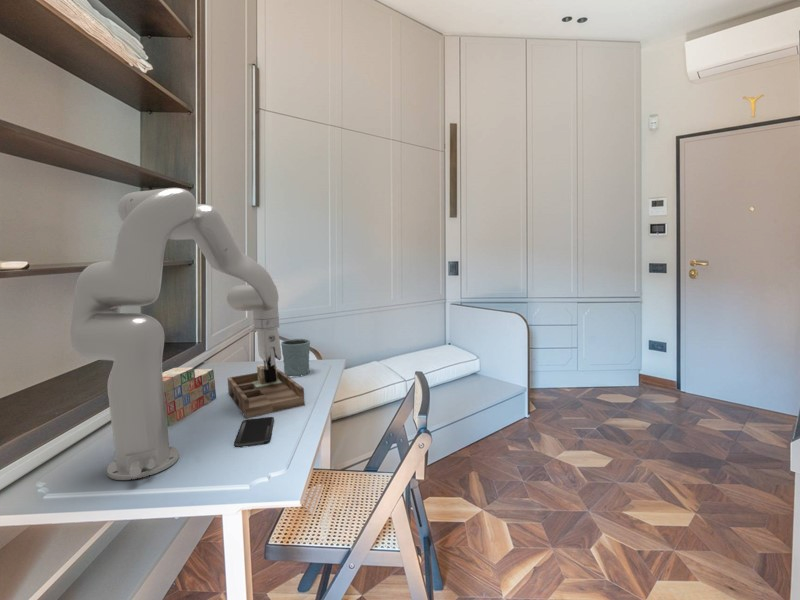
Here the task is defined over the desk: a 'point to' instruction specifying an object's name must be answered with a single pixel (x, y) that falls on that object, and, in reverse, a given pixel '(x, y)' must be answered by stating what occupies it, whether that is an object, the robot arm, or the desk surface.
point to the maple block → (261, 375)
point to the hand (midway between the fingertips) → (270, 381)
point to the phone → (254, 432)
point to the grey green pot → (296, 356)
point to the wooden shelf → (265, 394)
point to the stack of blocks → (187, 391)
